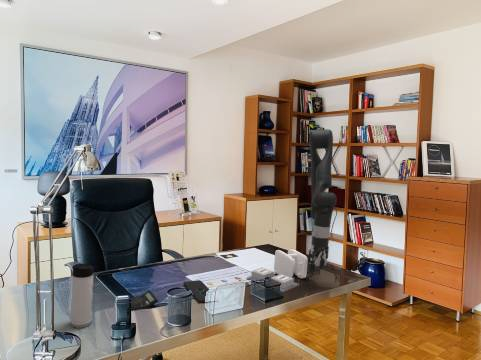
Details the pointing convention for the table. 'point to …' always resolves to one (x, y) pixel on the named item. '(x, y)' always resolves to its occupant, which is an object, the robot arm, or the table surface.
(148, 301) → the calculator
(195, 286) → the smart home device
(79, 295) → the travel mug
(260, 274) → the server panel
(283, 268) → the cable organizer
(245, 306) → the table surface
